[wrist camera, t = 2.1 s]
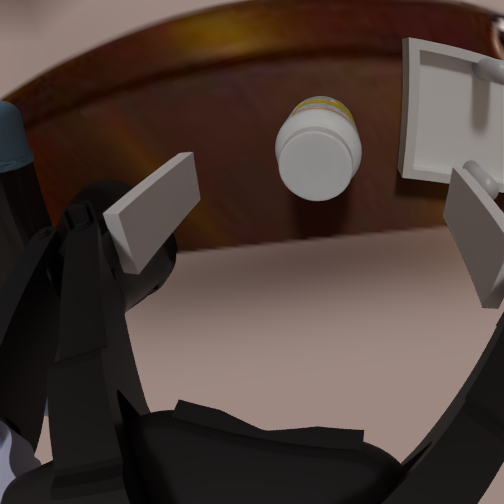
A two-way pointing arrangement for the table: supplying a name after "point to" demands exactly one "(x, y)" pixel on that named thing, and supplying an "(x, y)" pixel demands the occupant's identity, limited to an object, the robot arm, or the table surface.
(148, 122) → the table surface
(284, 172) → the supplement bottle
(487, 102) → the tray
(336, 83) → the table surface
